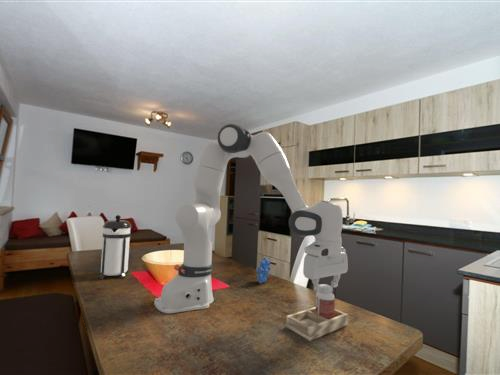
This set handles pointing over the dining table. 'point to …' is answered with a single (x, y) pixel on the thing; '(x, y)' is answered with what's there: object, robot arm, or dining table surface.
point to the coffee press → (115, 248)
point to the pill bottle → (325, 301)
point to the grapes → (263, 270)
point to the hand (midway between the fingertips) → (325, 288)
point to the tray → (315, 323)
